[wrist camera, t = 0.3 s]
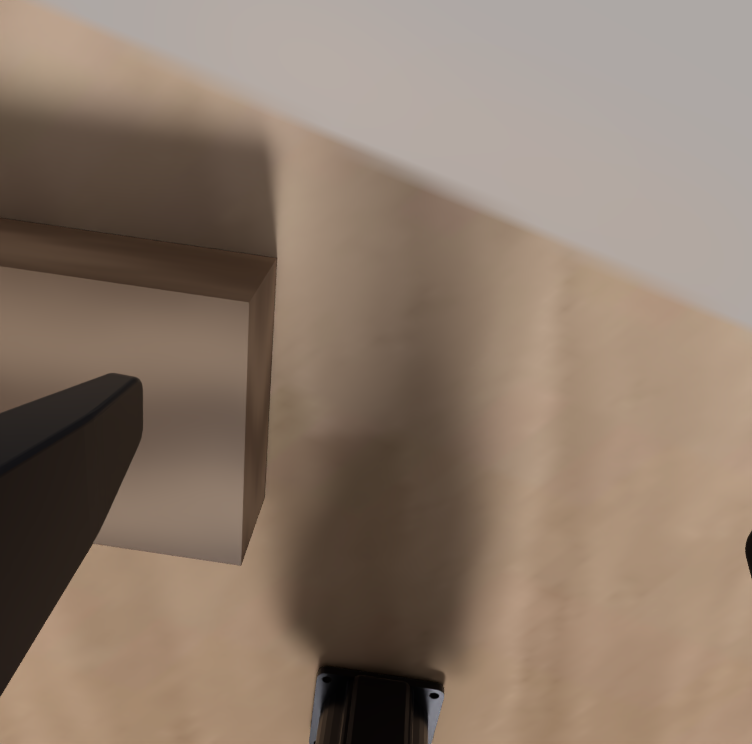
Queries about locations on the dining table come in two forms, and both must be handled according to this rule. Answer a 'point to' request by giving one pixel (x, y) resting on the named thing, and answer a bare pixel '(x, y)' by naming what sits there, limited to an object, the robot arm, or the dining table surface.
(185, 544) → the walnut base
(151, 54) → the dining table surface
